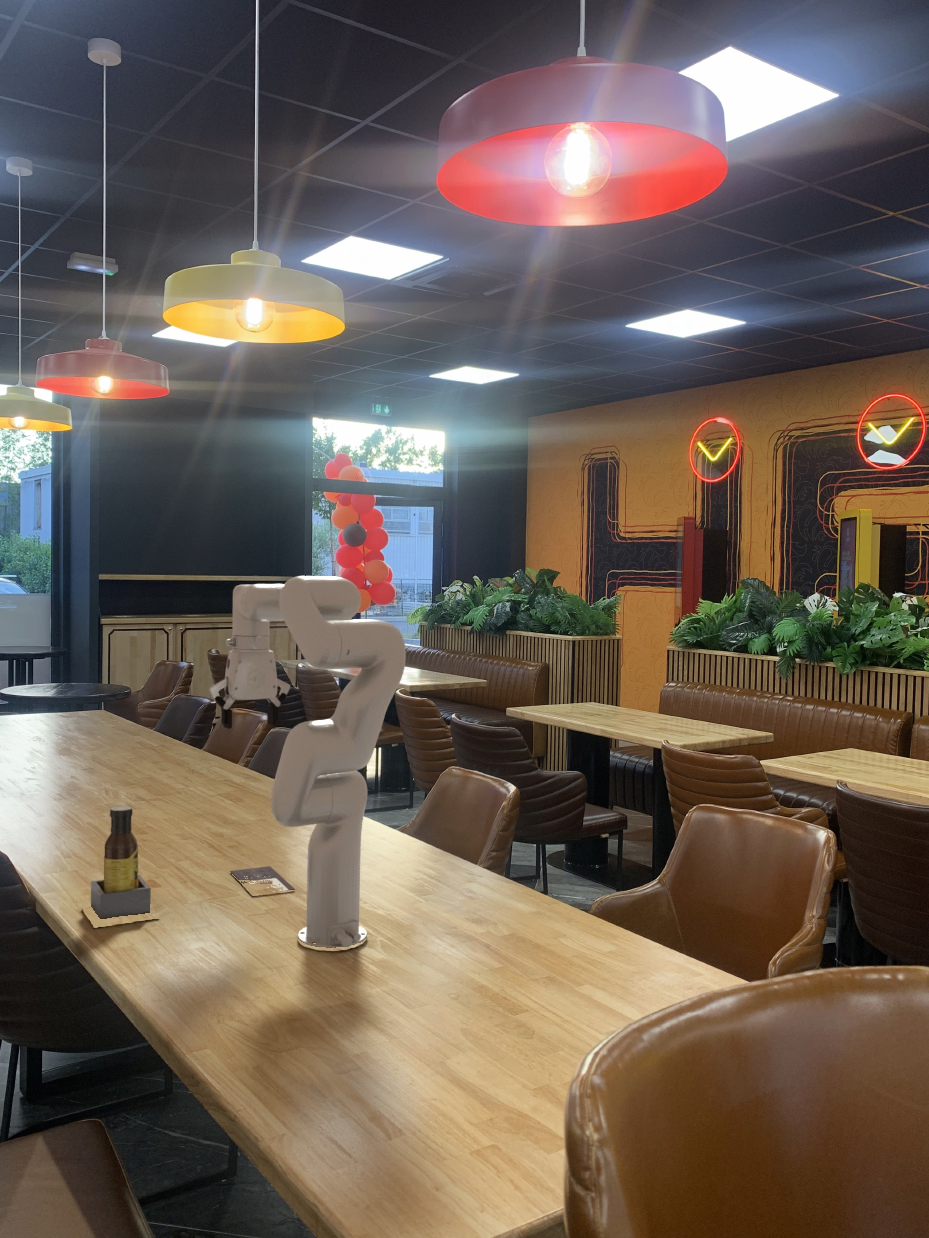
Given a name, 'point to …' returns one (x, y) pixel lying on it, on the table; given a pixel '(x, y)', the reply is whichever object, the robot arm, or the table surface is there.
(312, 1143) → the table surface
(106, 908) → the condiment holder
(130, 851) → the sauce bottle
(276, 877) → the chocolate bar
